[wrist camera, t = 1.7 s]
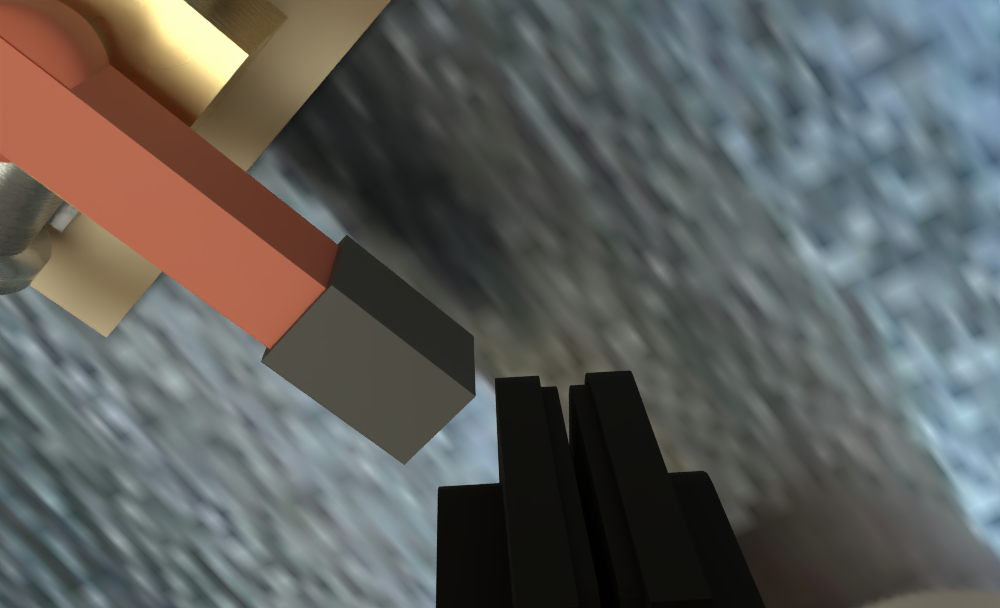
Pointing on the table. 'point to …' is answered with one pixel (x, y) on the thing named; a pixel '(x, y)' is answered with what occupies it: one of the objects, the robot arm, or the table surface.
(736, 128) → the table surface
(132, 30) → the pipe valve
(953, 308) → the table surface
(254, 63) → the mounting board
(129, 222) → the valve lever
